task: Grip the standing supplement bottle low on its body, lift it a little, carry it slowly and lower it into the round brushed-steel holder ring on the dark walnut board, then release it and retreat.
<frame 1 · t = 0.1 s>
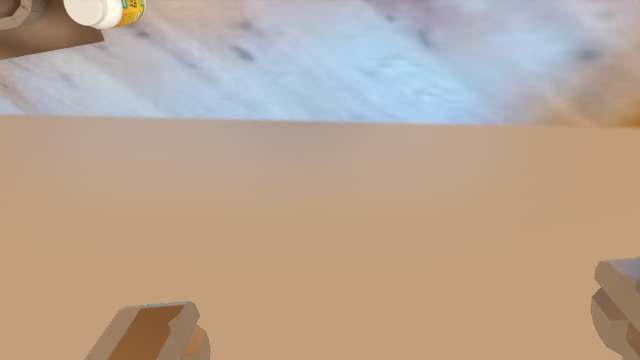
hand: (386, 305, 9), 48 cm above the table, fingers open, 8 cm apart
supplement bottle: (126, 1, 52), on the table
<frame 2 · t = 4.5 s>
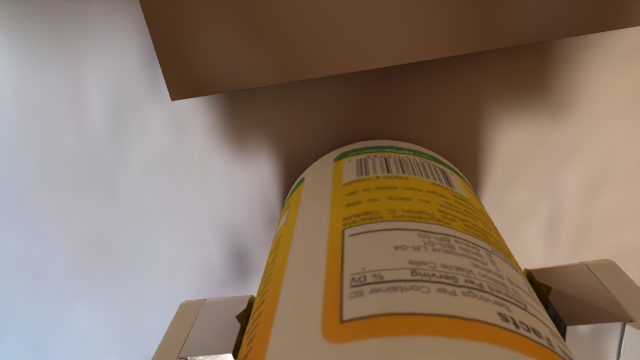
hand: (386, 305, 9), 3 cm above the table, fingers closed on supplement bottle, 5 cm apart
supplement bottle: (375, 223, 12), on the table, touching gripper
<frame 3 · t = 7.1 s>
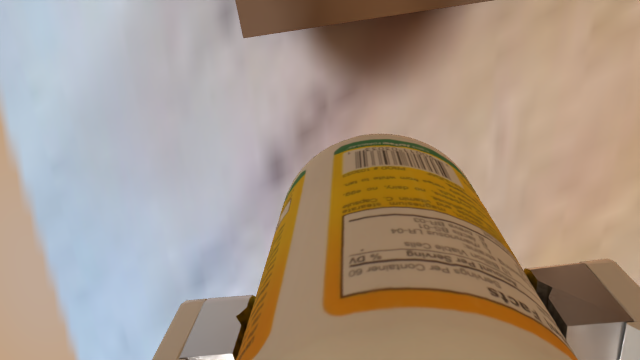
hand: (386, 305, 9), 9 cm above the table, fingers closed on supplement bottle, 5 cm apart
supplement bottle: (374, 216, 12), point 5 cm above the table, touching gripper
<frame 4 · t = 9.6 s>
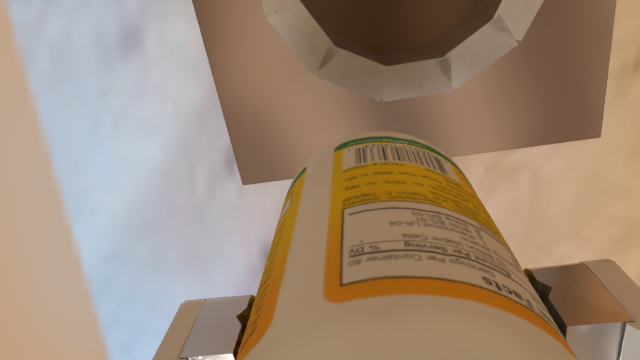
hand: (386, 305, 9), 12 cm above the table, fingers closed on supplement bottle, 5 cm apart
supplement bottle: (374, 212, 12), point 8 cm above the table, touching gripper
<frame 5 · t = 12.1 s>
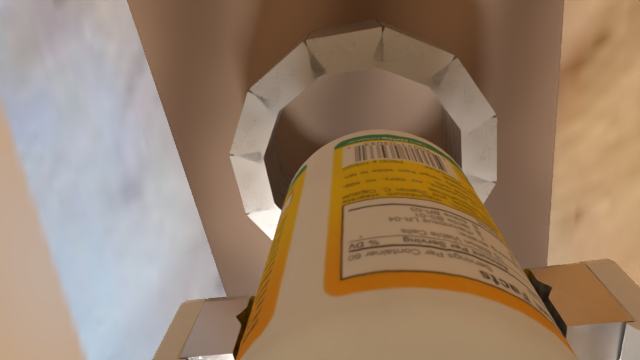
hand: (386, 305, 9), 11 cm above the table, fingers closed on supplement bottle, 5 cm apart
supplement bottle: (374, 210, 12), point 7 cm above the table, touching gripper
holder board: (358, 131, 19), on the table
when the fingers open (6 cm above the table, at t = 14.2 s): supplement bottle stays where it is, resting on holder board.
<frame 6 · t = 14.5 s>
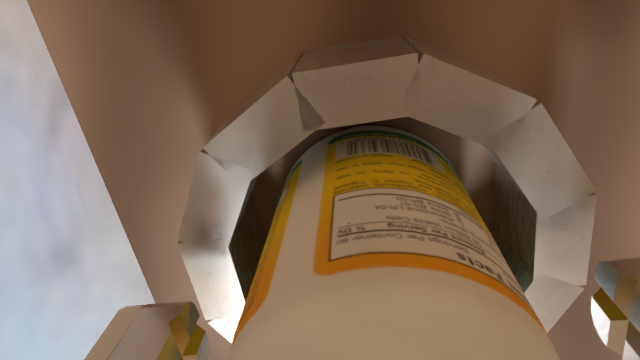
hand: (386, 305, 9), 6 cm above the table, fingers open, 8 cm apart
supplement bottle: (367, 203, 13), point 1 cm above the table, touching holder board
holder board: (370, 186, 14), on the table
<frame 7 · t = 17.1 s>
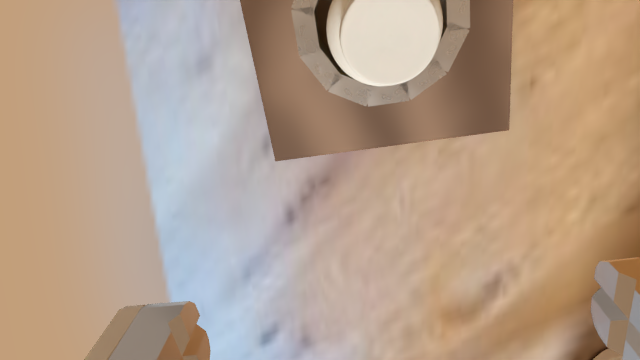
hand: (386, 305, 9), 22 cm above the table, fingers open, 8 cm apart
supplement bottle: (373, 16, 25), point 1 cm above the table, touching holder board
holder board: (374, 13, 26), on the table
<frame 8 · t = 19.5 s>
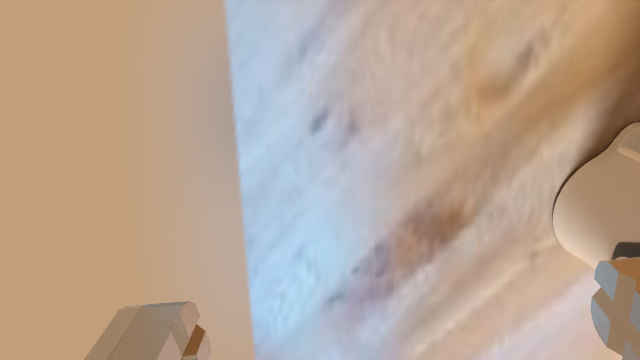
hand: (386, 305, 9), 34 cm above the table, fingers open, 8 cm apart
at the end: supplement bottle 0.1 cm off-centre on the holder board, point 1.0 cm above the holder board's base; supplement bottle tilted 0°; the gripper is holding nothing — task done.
